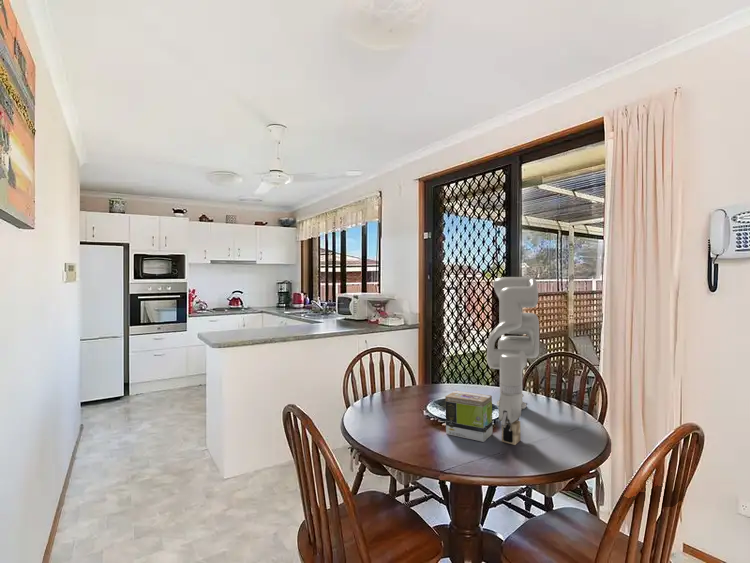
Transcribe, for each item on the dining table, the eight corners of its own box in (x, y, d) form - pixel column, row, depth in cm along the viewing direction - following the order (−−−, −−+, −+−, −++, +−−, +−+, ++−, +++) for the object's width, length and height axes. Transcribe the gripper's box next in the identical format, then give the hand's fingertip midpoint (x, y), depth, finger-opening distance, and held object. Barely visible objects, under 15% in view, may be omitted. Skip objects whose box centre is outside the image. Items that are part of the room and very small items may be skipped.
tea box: (493, 434, 159) (492, 395, 159) (483, 443, 151) (483, 402, 150) (455, 426, 168) (455, 389, 167) (445, 434, 159) (444, 395, 159)
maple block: (507, 437, 156) (506, 418, 155) (520, 440, 152) (520, 421, 152) (501, 441, 152) (501, 422, 152) (515, 445, 149) (515, 425, 148)
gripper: (509, 381, 160) (510, 429, 161) (490, 392, 147) (491, 444, 148) (529, 385, 156) (529, 433, 156) (511, 396, 143) (512, 449, 143)
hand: (511, 438), depth 152 cm, fingers closed on maple block, 5 cm apart
